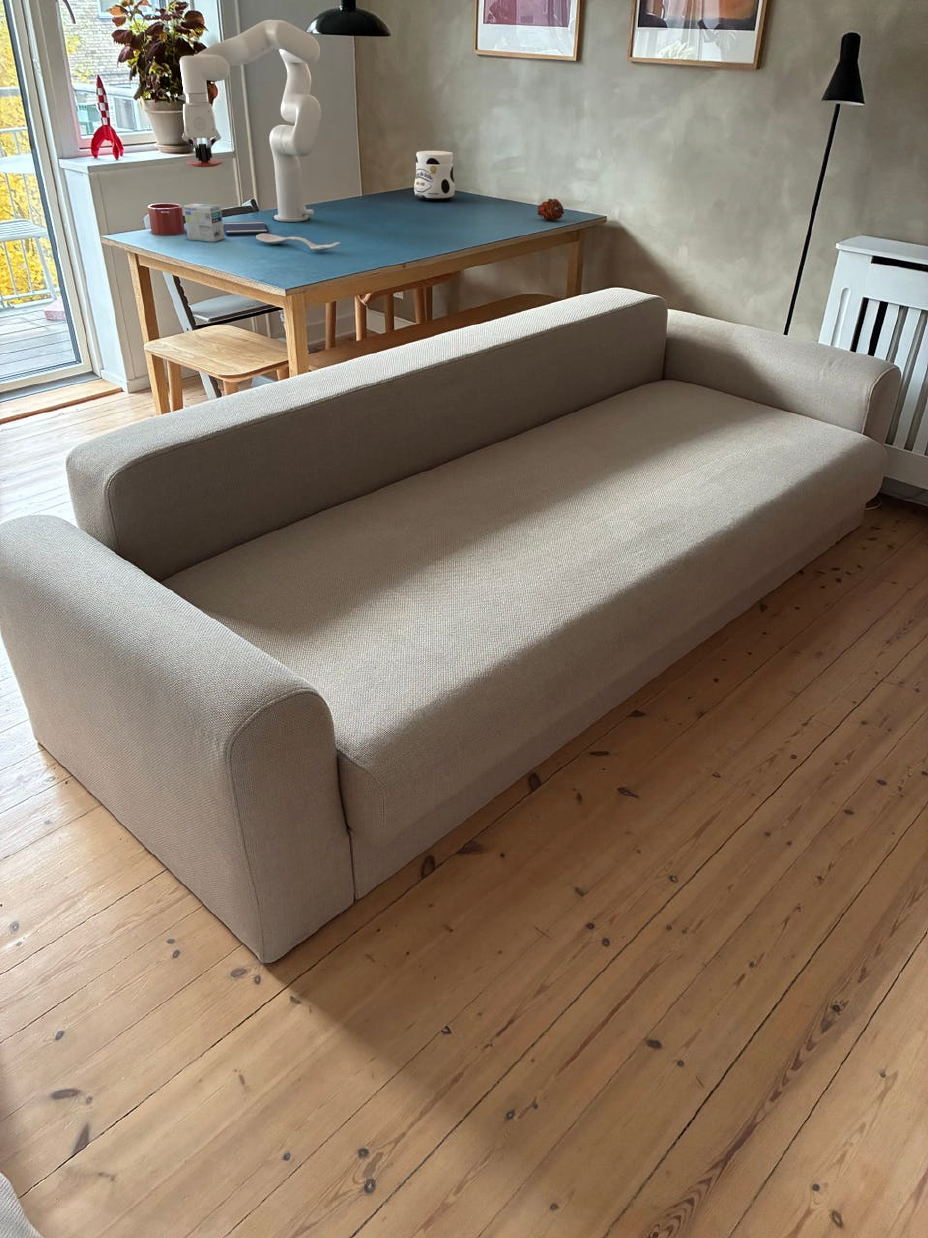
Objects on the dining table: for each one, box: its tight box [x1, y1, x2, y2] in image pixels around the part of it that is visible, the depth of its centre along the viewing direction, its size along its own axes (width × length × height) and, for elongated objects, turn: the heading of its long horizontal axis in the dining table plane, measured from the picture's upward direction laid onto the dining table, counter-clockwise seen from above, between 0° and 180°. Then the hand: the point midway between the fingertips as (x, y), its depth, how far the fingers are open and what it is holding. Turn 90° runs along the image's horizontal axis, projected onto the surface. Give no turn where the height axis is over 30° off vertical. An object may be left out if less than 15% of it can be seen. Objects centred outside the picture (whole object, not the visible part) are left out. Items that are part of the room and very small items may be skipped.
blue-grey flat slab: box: [223, 221, 269, 237], centre depth 337 cm, size 14×20×1 cm
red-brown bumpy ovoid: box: [536, 198, 565, 222], centre depth 363 cm, size 8×8×12 cm
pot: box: [147, 202, 186, 236], centre depth 329 cm, size 11×17×8 cm
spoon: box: [255, 233, 341, 252], centre depth 311 cm, size 9×32×4 cm, turn 56°
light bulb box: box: [183, 202, 225, 243], centre depth 319 cm, size 11×7×11 cm, turn 71°
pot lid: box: [186, 143, 224, 168], centre depth 322 cm, size 12×12×7 cm
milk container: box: [413, 150, 456, 202], centre depth 397 cm, size 17×17×18 cm
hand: (204, 159), depth 322 cm, fingers closed on pot lid, 2 cm apart
